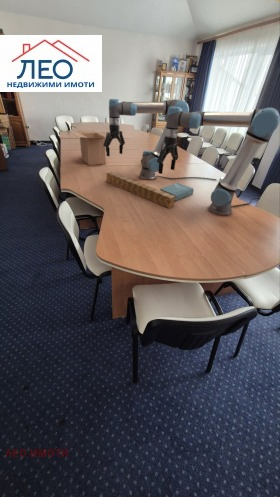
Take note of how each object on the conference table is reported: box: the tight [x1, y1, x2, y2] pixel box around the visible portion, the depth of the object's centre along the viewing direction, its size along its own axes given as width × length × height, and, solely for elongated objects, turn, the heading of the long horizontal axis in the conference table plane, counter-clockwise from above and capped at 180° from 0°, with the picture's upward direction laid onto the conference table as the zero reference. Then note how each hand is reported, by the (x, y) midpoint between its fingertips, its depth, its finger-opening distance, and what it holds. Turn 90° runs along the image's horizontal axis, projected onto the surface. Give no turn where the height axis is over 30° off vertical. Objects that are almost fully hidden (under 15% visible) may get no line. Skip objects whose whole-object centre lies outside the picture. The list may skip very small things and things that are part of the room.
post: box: [105, 171, 175, 209], centre depth 172 cm, size 67×5×8 cm, turn 48°
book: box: [159, 182, 194, 202], centre depth 175 cm, size 23×16×5 cm
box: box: [70, 129, 107, 166], centre depth 229 cm, size 44×36×27 cm
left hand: (114, 154), depth 174 cm, fingers open, 13 cm apart
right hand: (166, 171), depth 148 cm, fingers open, 13 cm apart
